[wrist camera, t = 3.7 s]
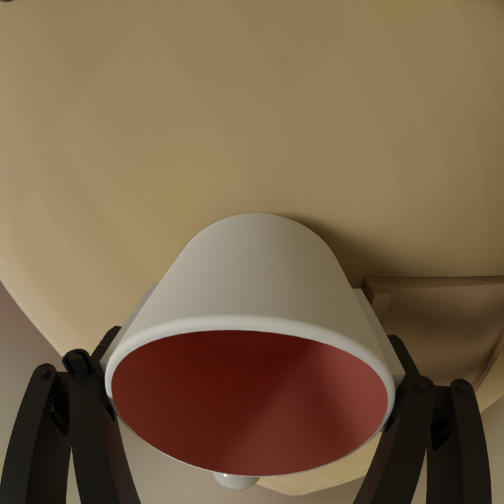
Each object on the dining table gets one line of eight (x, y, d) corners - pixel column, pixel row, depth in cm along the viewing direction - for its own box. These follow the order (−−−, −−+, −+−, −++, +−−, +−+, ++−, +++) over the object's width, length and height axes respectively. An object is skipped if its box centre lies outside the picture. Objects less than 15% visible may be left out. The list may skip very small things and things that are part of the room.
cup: (199, 350, 19) (164, 469, 10) (162, 219, 15) (53, 318, 6) (336, 339, 18) (366, 465, 9) (336, 198, 14) (430, 292, 5)
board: (364, 277, 17) (374, 293, 15) (517, 274, 16) (530, 284, 14) (320, 428, 24) (322, 444, 22) (452, 403, 23) (458, 414, 21)
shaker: (218, 387, 21) (202, 478, 13) (265, 390, 21) (263, 483, 13) (221, 412, 23) (209, 492, 15) (263, 414, 23) (261, 496, 14)
